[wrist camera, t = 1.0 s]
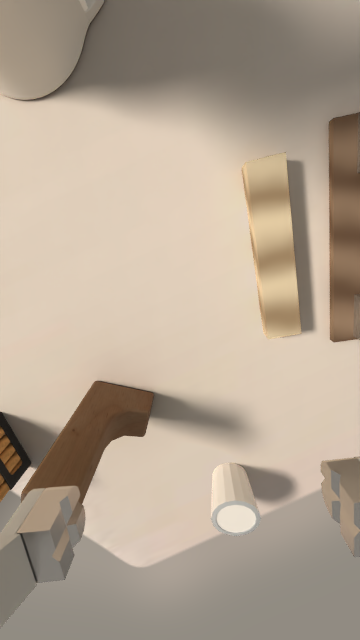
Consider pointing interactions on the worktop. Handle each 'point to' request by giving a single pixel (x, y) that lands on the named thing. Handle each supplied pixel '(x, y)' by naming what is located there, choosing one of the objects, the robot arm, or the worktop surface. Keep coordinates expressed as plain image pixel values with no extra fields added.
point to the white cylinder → (233, 501)
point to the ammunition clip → (10, 458)
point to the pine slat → (272, 244)
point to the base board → (344, 225)
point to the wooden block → (92, 436)
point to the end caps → (359, 299)
